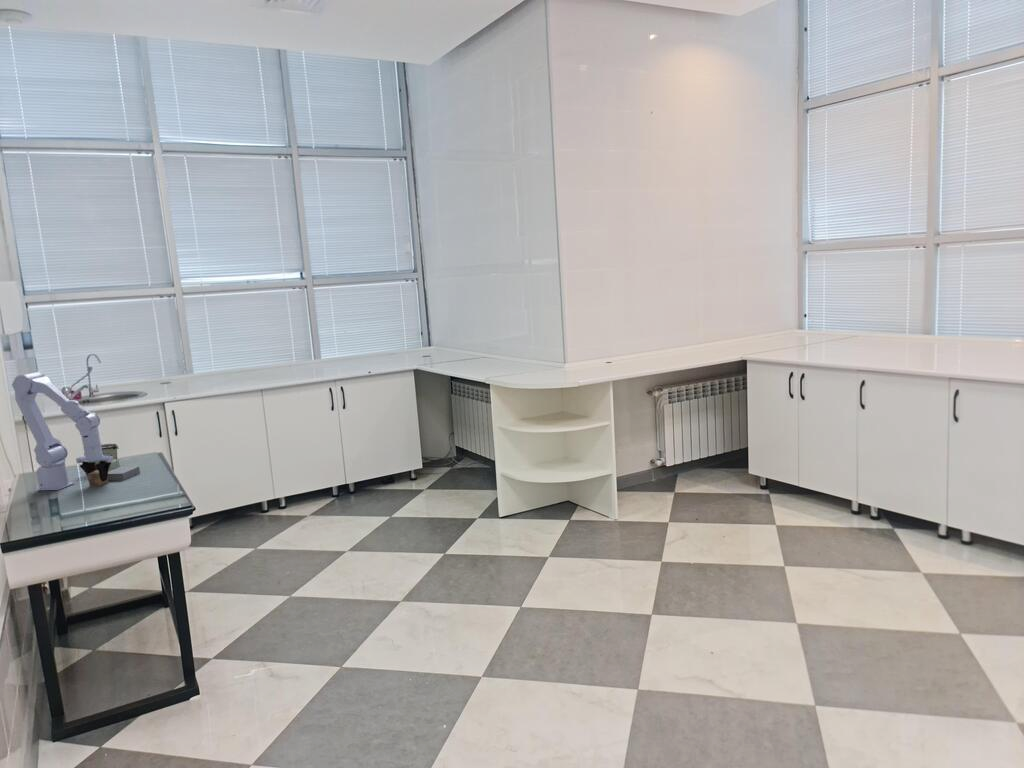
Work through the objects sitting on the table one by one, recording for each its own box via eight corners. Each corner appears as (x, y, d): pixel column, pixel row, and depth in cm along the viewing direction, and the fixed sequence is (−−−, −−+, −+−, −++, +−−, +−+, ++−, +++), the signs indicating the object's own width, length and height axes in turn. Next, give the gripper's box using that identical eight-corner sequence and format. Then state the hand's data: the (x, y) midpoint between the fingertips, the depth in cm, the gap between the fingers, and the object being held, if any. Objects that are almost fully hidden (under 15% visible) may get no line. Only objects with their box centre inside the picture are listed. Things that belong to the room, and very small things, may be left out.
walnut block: (89, 486, 269) (87, 473, 268) (98, 482, 273) (96, 470, 272) (100, 486, 268) (97, 473, 267) (109, 482, 272) (106, 469, 271)
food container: (118, 465, 298) (114, 441, 297) (122, 467, 294) (117, 443, 292) (85, 472, 291) (80, 448, 289) (88, 475, 286) (83, 450, 284)
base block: (103, 481, 276) (102, 474, 275) (120, 474, 284) (119, 467, 284) (124, 481, 274) (122, 473, 273) (140, 473, 283) (139, 466, 282)
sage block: (102, 475, 284) (100, 463, 283) (110, 471, 288) (108, 459, 288) (112, 475, 283) (110, 462, 282) (120, 471, 287) (118, 459, 287)
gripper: (67, 449, 265) (74, 484, 268) (100, 448, 262) (107, 483, 265) (81, 444, 272) (88, 478, 274) (114, 443, 269) (121, 477, 271)
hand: (98, 480), depth 270 cm, fingers closed on walnut block, 4 cm apart
